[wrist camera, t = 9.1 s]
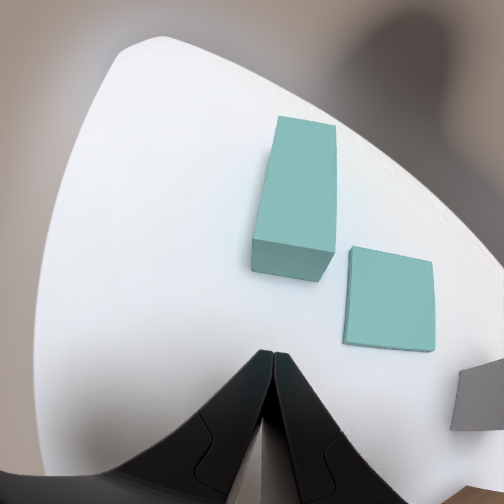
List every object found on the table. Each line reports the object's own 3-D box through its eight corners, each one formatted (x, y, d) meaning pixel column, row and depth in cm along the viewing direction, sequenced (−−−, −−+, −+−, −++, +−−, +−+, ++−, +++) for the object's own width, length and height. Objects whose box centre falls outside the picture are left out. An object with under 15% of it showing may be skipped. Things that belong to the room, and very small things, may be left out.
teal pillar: (334, 252, 14) (335, 125, 18) (252, 238, 14) (278, 115, 19) (317, 283, 17) (324, 164, 22) (251, 272, 18) (274, 156, 22)
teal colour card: (429, 352, 15) (434, 350, 14) (343, 343, 15) (346, 341, 15) (427, 265, 18) (432, 262, 17) (349, 250, 18) (352, 245, 17)
